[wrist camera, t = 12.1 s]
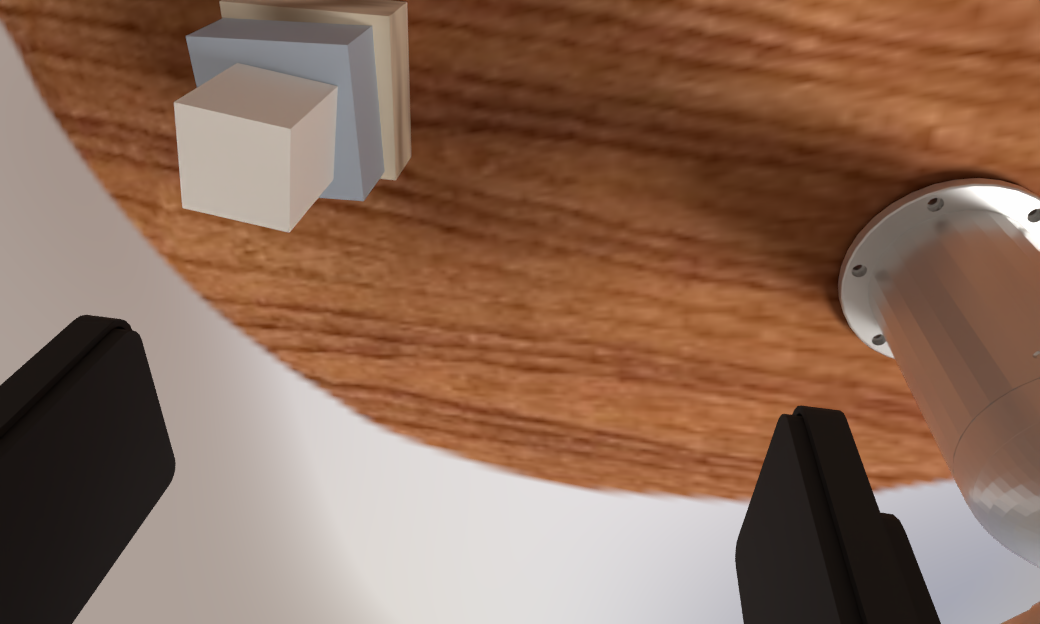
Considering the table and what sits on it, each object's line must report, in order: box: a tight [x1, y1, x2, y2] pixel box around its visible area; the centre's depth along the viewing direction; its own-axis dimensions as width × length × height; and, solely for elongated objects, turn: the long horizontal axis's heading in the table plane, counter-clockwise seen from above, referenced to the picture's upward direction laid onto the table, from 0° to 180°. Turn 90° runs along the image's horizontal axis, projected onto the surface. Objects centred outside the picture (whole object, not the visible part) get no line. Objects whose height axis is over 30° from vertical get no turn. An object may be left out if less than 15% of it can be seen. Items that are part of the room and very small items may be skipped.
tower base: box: [219, 0, 411, 180], centre depth 42 cm, size 9×9×4 cm
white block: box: [174, 63, 338, 233], centre depth 35 cm, size 5×5×6 cm
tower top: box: [186, 18, 385, 201], centre depth 39 cm, size 8×8×4 cm
